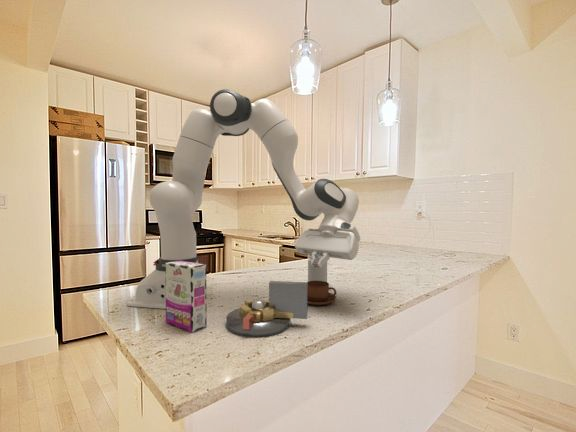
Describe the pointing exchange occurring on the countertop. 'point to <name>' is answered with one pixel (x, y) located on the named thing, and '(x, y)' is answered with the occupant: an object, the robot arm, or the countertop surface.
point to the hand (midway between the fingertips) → (315, 266)
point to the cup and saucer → (320, 293)
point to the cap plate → (255, 323)
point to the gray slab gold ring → (281, 302)
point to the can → (317, 271)
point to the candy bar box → (186, 295)
